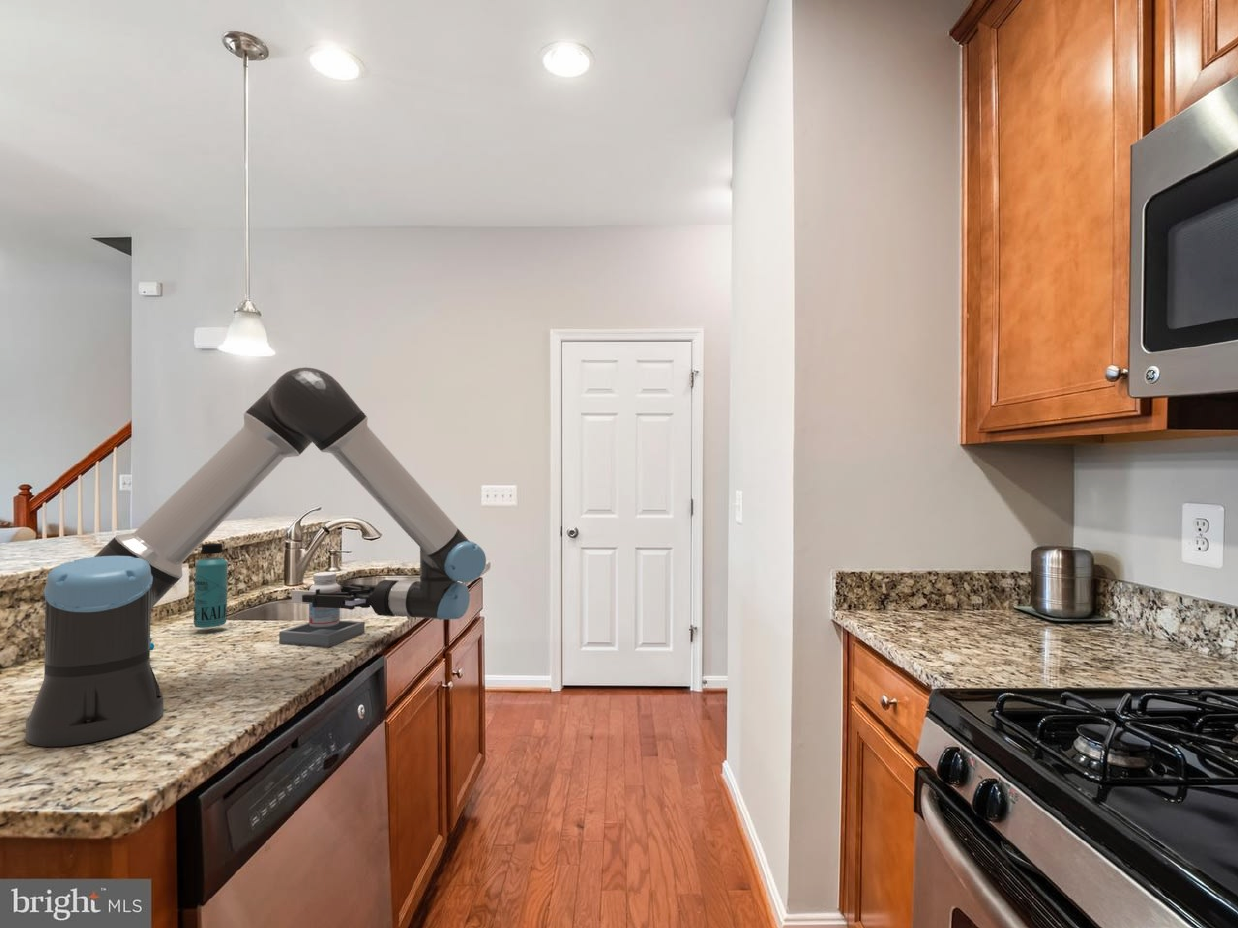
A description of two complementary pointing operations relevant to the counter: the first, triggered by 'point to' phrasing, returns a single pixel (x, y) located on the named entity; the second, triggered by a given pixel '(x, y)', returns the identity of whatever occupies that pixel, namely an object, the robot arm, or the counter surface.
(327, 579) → the pill bottle
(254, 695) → the counter surface
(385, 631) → the counter surface
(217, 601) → the beverage bottle
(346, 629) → the tray
